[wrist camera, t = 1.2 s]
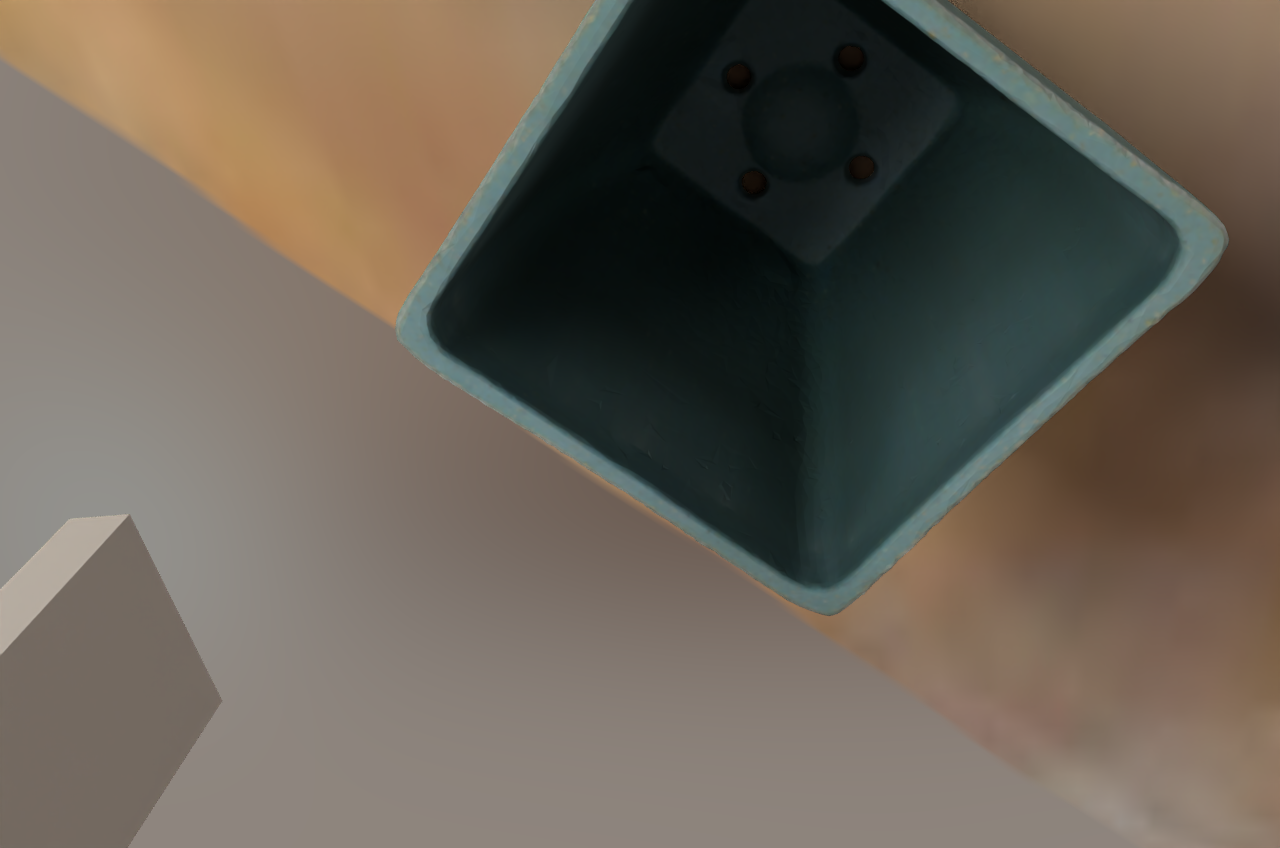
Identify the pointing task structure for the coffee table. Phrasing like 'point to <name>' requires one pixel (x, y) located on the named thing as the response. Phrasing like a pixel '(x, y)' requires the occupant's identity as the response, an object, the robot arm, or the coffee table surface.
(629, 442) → the flower pot
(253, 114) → the coffee table surface
